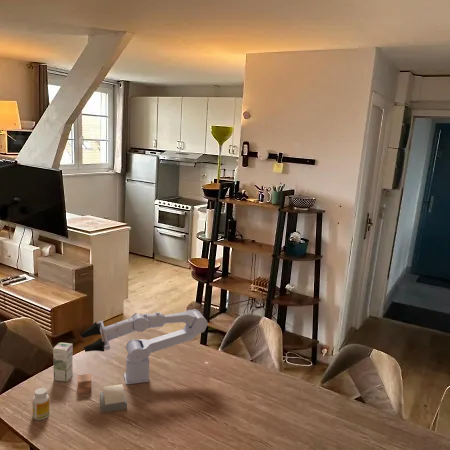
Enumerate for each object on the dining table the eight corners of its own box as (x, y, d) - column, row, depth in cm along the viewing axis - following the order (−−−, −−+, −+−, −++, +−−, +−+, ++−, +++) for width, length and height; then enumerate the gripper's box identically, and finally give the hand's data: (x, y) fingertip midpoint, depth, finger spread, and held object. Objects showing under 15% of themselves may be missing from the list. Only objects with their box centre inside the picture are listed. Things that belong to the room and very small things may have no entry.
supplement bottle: (52, 413, 151) (52, 388, 149) (41, 422, 146) (41, 397, 144) (40, 409, 153) (40, 385, 151) (29, 417, 148) (28, 393, 146)
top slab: (122, 391, 163) (122, 384, 162) (124, 401, 156) (124, 394, 156) (103, 393, 160) (103, 386, 160) (105, 404, 154) (105, 397, 153)
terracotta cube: (90, 384, 170) (90, 373, 169) (91, 392, 165) (91, 380, 164) (77, 386, 168) (77, 375, 167) (77, 393, 163) (77, 382, 162)
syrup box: (73, 374, 175) (73, 342, 173) (66, 382, 170) (66, 349, 167) (60, 373, 176) (59, 341, 173) (53, 381, 170) (52, 348, 167)
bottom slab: (123, 396, 165) (124, 389, 164) (126, 410, 156) (127, 403, 156) (100, 399, 162) (100, 392, 161) (101, 414, 153) (101, 406, 153)
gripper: (111, 311, 172) (77, 323, 168) (119, 336, 161) (83, 349, 157) (114, 323, 176) (82, 334, 172) (122, 348, 165) (87, 361, 161)
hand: (82, 342), depth 165 cm, fingers open, 7 cm apart
